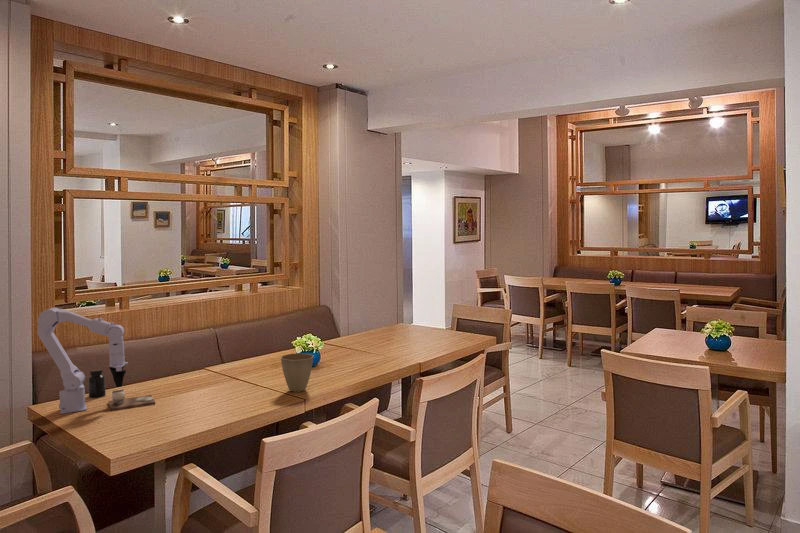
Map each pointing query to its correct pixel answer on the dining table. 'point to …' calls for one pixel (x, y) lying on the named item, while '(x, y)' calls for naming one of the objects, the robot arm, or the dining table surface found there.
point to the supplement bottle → (96, 384)
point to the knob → (118, 395)
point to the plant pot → (297, 370)
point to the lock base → (131, 402)
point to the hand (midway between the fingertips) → (118, 384)
